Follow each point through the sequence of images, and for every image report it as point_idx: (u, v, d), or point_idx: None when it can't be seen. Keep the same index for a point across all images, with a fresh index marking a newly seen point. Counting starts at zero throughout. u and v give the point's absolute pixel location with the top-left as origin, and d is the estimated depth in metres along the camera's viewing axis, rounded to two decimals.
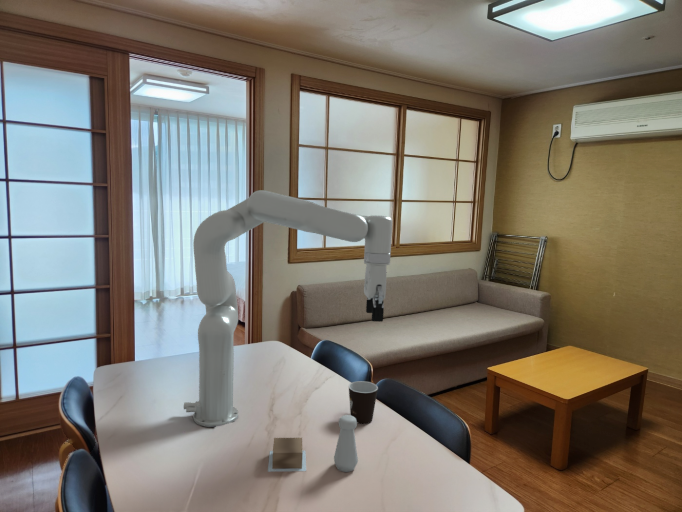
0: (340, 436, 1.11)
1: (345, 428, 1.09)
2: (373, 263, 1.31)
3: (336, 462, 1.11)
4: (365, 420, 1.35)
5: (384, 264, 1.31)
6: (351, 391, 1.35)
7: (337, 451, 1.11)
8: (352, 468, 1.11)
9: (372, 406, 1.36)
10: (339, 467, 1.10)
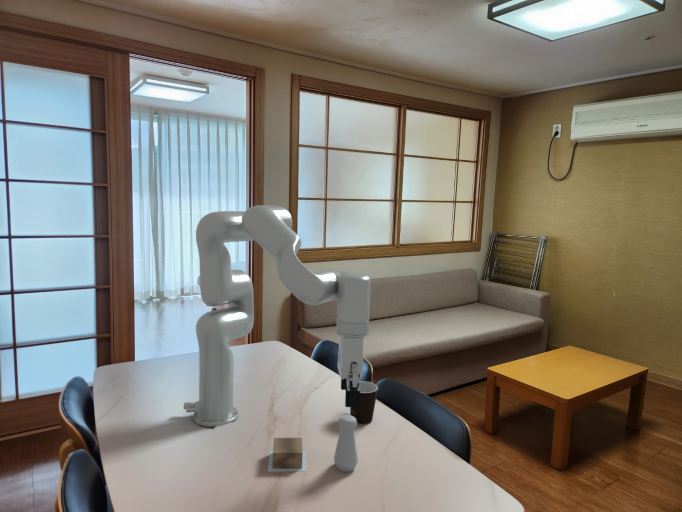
0: (340, 436, 1.11)
1: (345, 428, 1.09)
2: (347, 335, 1.05)
3: (336, 462, 1.11)
4: (365, 420, 1.35)
5: (360, 336, 1.05)
6: None
7: (337, 451, 1.11)
8: (352, 468, 1.11)
9: (372, 406, 1.36)
10: (339, 467, 1.10)
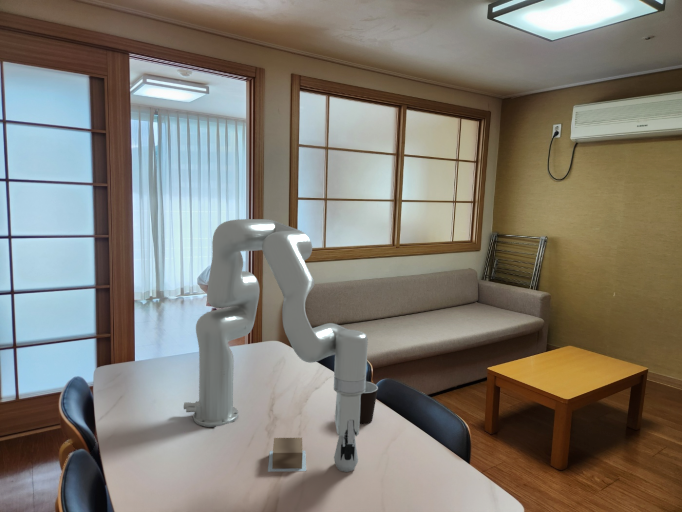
0: (340, 436, 1.11)
1: None
2: (344, 393, 1.07)
3: (336, 462, 1.11)
4: (365, 420, 1.35)
5: (357, 393, 1.07)
6: None
7: (337, 451, 1.11)
8: (352, 468, 1.11)
9: (372, 406, 1.36)
10: (339, 467, 1.10)
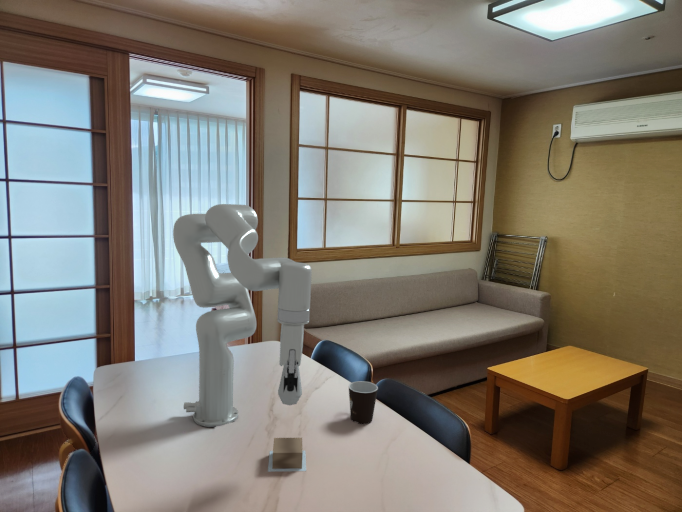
0: (284, 368, 1.11)
1: None
2: (286, 322, 1.06)
3: (279, 394, 1.11)
4: (365, 420, 1.35)
5: (300, 324, 1.07)
6: (351, 391, 1.35)
7: (281, 383, 1.11)
8: (295, 400, 1.11)
9: (372, 406, 1.36)
10: (282, 399, 1.10)
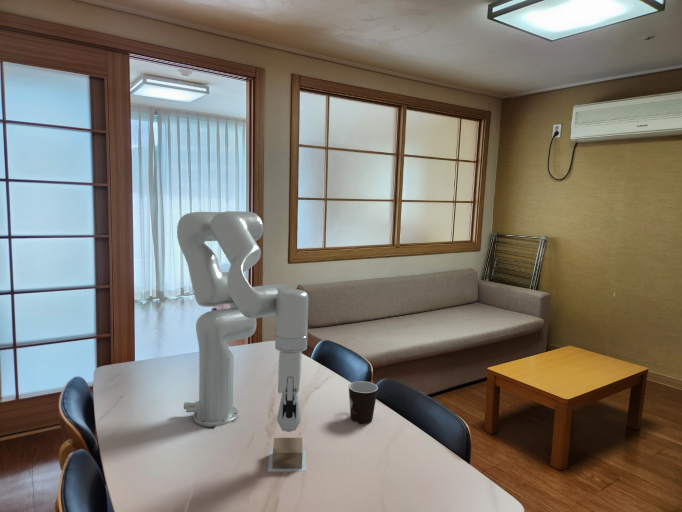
0: (282, 395, 1.11)
1: None
2: (283, 350, 1.07)
3: (278, 420, 1.11)
4: (365, 420, 1.35)
5: (297, 351, 1.07)
6: (351, 391, 1.35)
7: (279, 409, 1.11)
8: (294, 426, 1.11)
9: (372, 406, 1.36)
10: (281, 425, 1.11)
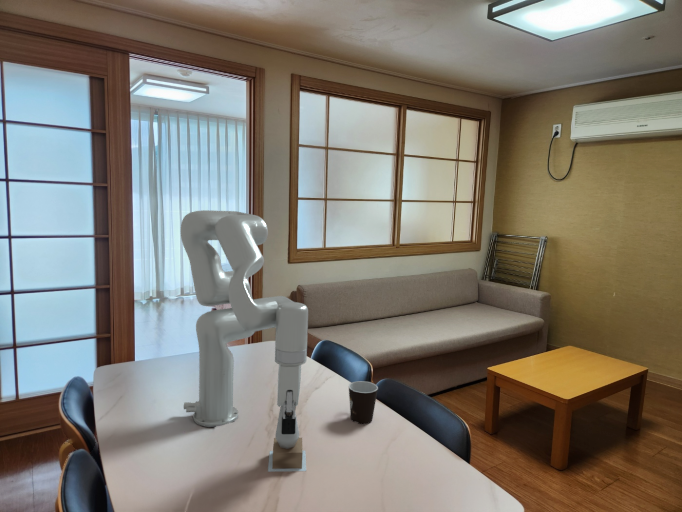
0: (280, 412, 1.12)
1: None
2: (283, 363, 1.08)
3: (277, 438, 1.12)
4: (365, 420, 1.35)
5: (297, 364, 1.08)
6: (351, 391, 1.35)
7: (277, 426, 1.12)
8: (293, 443, 1.12)
9: (372, 406, 1.36)
10: (280, 442, 1.12)
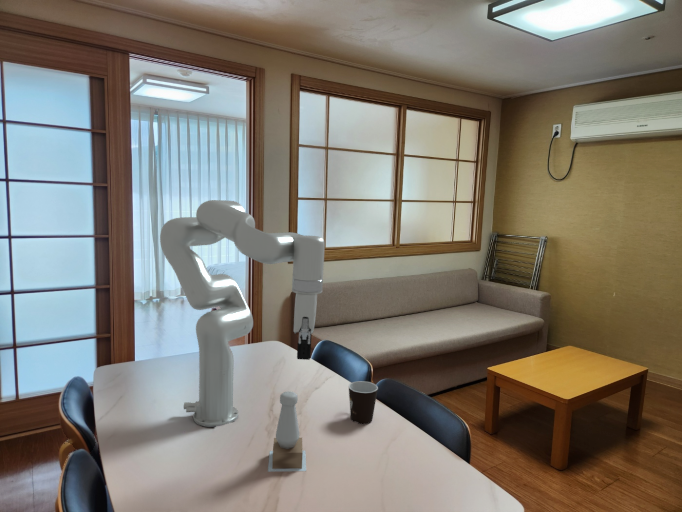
0: (281, 412, 1.12)
1: (285, 404, 1.10)
2: (300, 292, 1.12)
3: (277, 438, 1.12)
4: (365, 420, 1.35)
5: (313, 293, 1.12)
6: (351, 391, 1.35)
7: (278, 426, 1.12)
8: (293, 443, 1.12)
9: (372, 406, 1.36)
10: (280, 442, 1.12)
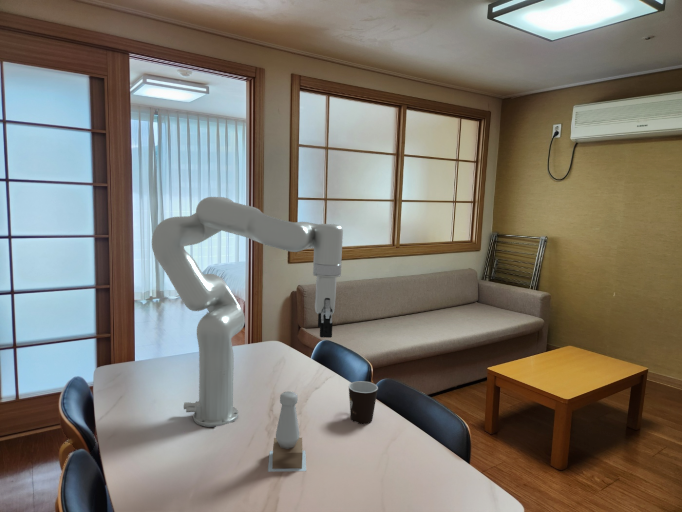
0: (281, 412, 1.12)
1: (285, 404, 1.10)
2: (321, 275, 1.22)
3: (277, 438, 1.12)
4: (365, 420, 1.35)
5: (333, 276, 1.22)
6: (351, 391, 1.35)
7: (278, 426, 1.12)
8: (293, 443, 1.12)
9: (372, 406, 1.36)
10: (280, 442, 1.12)
